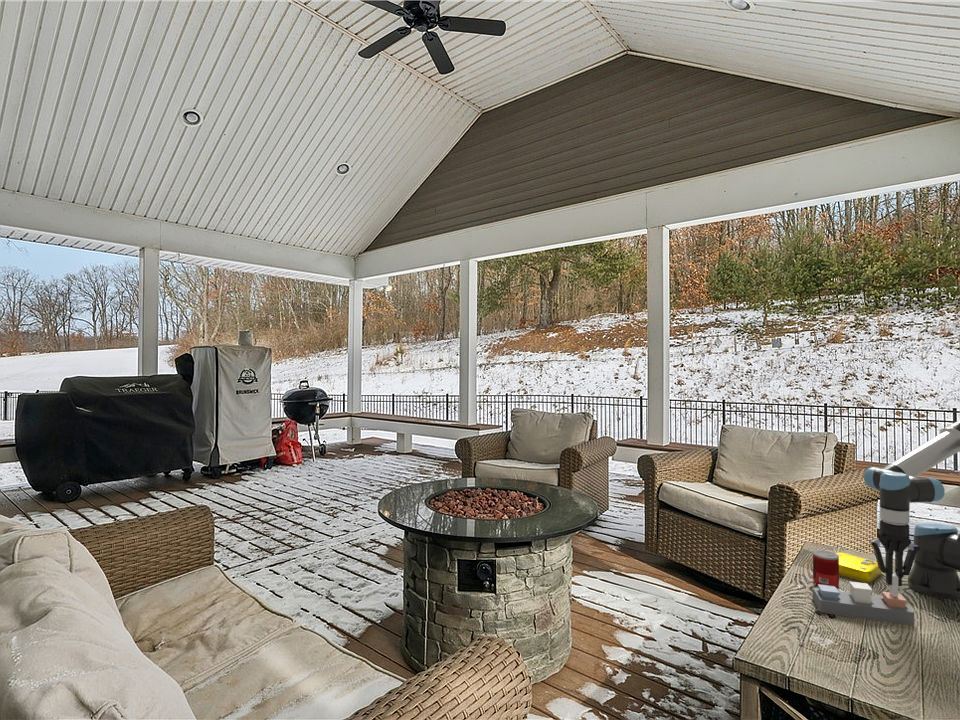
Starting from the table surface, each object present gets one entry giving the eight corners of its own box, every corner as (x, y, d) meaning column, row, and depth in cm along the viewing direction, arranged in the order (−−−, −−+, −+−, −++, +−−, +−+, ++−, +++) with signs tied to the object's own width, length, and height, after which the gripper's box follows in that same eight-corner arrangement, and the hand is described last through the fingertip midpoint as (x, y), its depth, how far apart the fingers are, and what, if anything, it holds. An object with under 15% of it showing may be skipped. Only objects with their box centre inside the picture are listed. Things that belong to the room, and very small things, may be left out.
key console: (900, 610, 173) (900, 598, 173) (914, 625, 163) (914, 612, 163) (812, 599, 181) (812, 587, 181) (820, 612, 172) (820, 600, 172)
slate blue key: (835, 601, 177) (835, 586, 177) (839, 608, 172) (839, 592, 172) (817, 599, 178) (817, 584, 178) (821, 605, 174) (821, 590, 174)
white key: (867, 598, 174) (867, 583, 174) (872, 605, 169) (872, 590, 169) (849, 596, 175) (849, 581, 175) (854, 603, 171) (854, 587, 171)
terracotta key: (900, 609, 171) (900, 593, 171) (906, 616, 166) (906, 600, 166) (881, 606, 172) (881, 591, 172) (887, 613, 168) (887, 598, 168)
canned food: (844, 588, 189) (844, 558, 189) (821, 588, 189) (821, 558, 189) (830, 579, 196) (830, 550, 196) (808, 579, 197) (808, 550, 196)
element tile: (838, 561, 214) (838, 550, 214) (883, 573, 202) (883, 561, 202) (823, 571, 205) (823, 558, 205) (869, 584, 193) (869, 571, 193)
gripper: (914, 520, 170) (913, 593, 170) (865, 516, 174) (865, 587, 175) (924, 527, 163) (924, 603, 163) (874, 522, 167) (873, 597, 168)
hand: (893, 595), depth 169 cm, fingers closed
